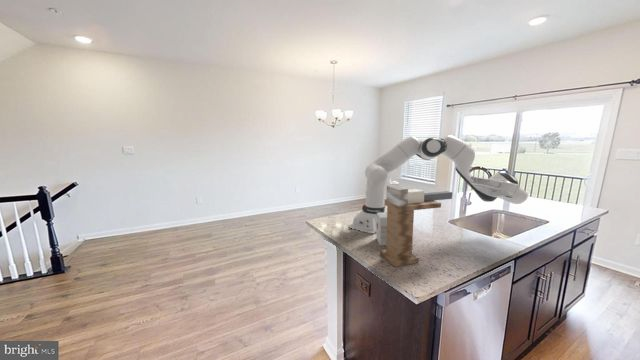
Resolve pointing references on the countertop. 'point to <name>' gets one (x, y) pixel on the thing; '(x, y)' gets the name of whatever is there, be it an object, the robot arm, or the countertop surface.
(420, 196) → the grey and white bar
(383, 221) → the supplement box
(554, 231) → the countertop surface
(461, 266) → the countertop surface
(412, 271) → the countertop surface
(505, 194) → the robot arm
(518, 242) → the countertop surface
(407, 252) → the stand
